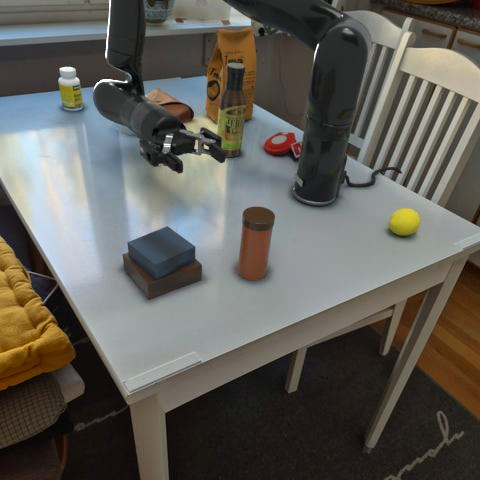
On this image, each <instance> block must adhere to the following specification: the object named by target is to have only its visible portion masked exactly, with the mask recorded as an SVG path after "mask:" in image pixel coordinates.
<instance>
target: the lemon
mask: <svg viewBox="0 0 480 480" xmlns="http://www.w3.org/2000/svg"><path fill="white" fill-rule="evenodd" d="M420 225H421V217H420V215H419V213H418V212H417V211H416V210H414V209H413V208H408V207H404V208H400V209H397V210H396V211H395V212H393V213H392V214H391V216H390V218H389V221H388V227H389V229H390V230H391V232H393V233H394V234H395V235H398V236H411V235H412V234H414V233H415V232H416V231H417V230H419V227H420Z"/></svg>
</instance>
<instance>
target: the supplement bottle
mask: <svg viewBox="0 0 480 480" xmlns="http://www.w3.org/2000/svg"><path fill="white" fill-rule="evenodd" d="M59 75H60V77H59V78H58V88H59V93H60V100H61V105H62V108H63V110H65V111H68V112H79V111H81V110H83V108H84V103H83V95H82V88H81V87H82V86H81V81H80V79H79V77H78V76H77V71H76V68H75V67H71V66H63V67H60V68H59Z"/></svg>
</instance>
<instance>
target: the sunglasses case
mask: <svg viewBox="0 0 480 480" xmlns="http://www.w3.org/2000/svg"><path fill="white" fill-rule="evenodd" d="M147 95H148V96H150V97H151V98H152V100H153V102H154V103H156V104H158V105H160V106H162V107H163V108H165V109H166V110H168V111H169V112H171V113H172V114H173V115H175V116H176V117H178V118H179V119H180V120H181V121H182V122H183V124H185V123H189V122H192V120H193V119H194V118H195V112H194V110H193V108H192V107H191V106H190V105H188V104H187V103H184V102H182V101H181V100H179V99H178V98H176V97H175V96H173V95H171V94H170V93H167V92H166V91H164V90H163V89H161V88H159V87H158V86H156V88H154V89H153V90H152V91H151V92H149V93H148V94H147Z"/></svg>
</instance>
